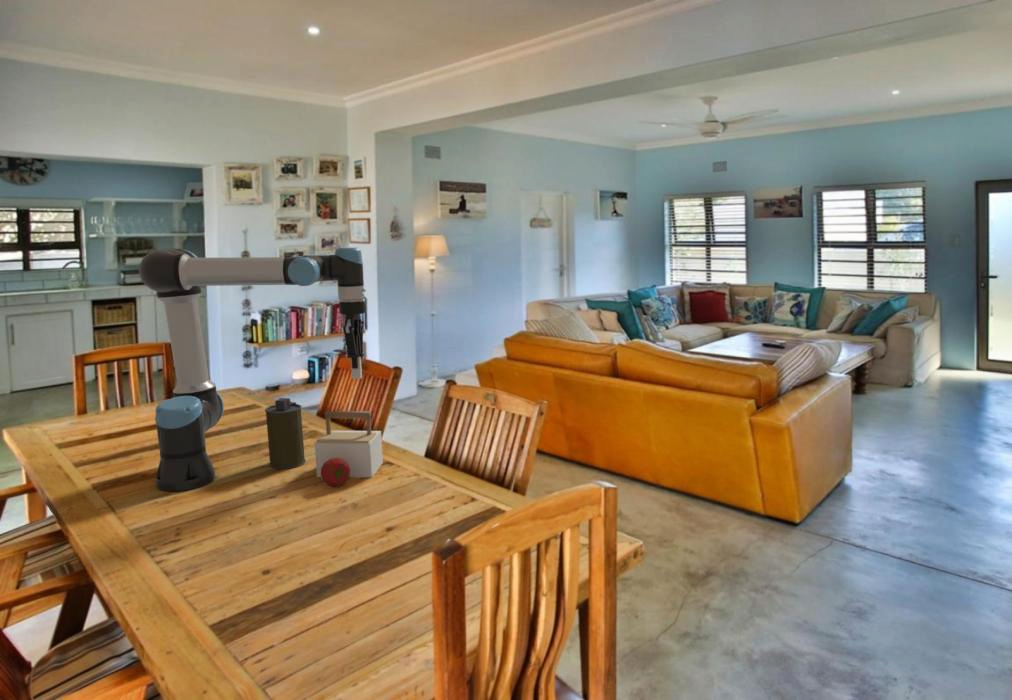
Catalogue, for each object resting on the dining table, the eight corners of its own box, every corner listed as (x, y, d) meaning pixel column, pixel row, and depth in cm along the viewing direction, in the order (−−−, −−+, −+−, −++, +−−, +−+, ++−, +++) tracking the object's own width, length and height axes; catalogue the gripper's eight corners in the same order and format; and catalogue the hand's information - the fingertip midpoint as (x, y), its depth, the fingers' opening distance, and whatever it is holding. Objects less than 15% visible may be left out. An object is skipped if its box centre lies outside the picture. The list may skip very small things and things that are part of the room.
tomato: (327, 451, 186) (335, 453, 179) (350, 464, 189) (359, 467, 182) (312, 477, 183) (319, 480, 177) (336, 490, 187) (344, 493, 180)
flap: (316, 442, 189) (314, 417, 187) (325, 434, 196) (324, 409, 195) (368, 442, 188) (367, 417, 186) (375, 434, 195) (374, 410, 194)
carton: (316, 476, 190) (314, 443, 189) (331, 462, 202) (328, 430, 200) (371, 477, 189) (369, 443, 187) (382, 462, 201) (381, 430, 199)
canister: (294, 470, 196) (289, 404, 192) (262, 468, 198) (257, 403, 194) (312, 457, 206) (307, 395, 203) (281, 456, 209) (276, 394, 205)
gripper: (357, 302, 190) (363, 383, 194) (370, 297, 203) (375, 373, 207) (332, 303, 191) (337, 383, 195) (346, 298, 204) (351, 373, 208)
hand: (357, 378), depth 201 cm, fingers closed
